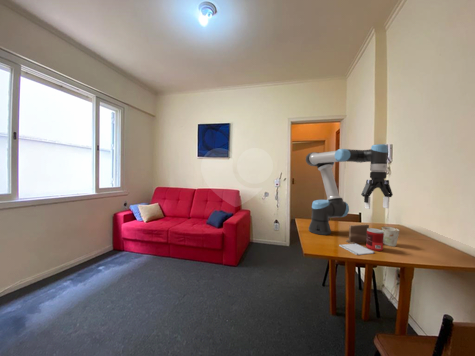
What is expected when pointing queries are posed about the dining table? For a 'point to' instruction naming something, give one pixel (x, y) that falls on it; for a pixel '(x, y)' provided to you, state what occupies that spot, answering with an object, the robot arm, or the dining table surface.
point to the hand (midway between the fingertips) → (376, 208)
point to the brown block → (357, 233)
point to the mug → (390, 236)
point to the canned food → (374, 239)
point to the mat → (357, 249)
